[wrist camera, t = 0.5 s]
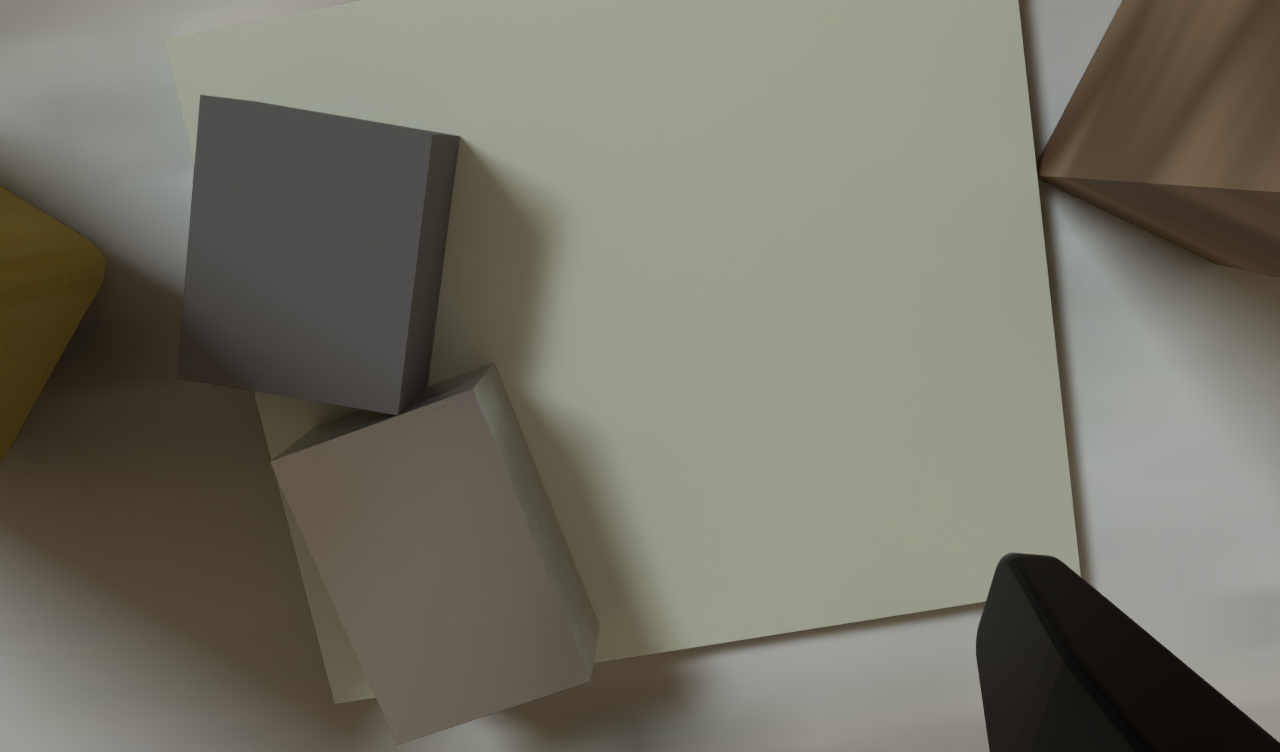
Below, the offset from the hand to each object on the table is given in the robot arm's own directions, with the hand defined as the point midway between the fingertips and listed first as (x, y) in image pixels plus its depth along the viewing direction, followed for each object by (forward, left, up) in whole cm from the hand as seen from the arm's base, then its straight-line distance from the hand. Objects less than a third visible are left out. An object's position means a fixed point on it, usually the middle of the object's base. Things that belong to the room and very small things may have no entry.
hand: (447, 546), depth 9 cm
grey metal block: (-4, +3, -13) cm, 14 cm away
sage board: (0, -1, -14) cm, 14 cm away
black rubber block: (+2, +4, -13) cm, 14 cm away
